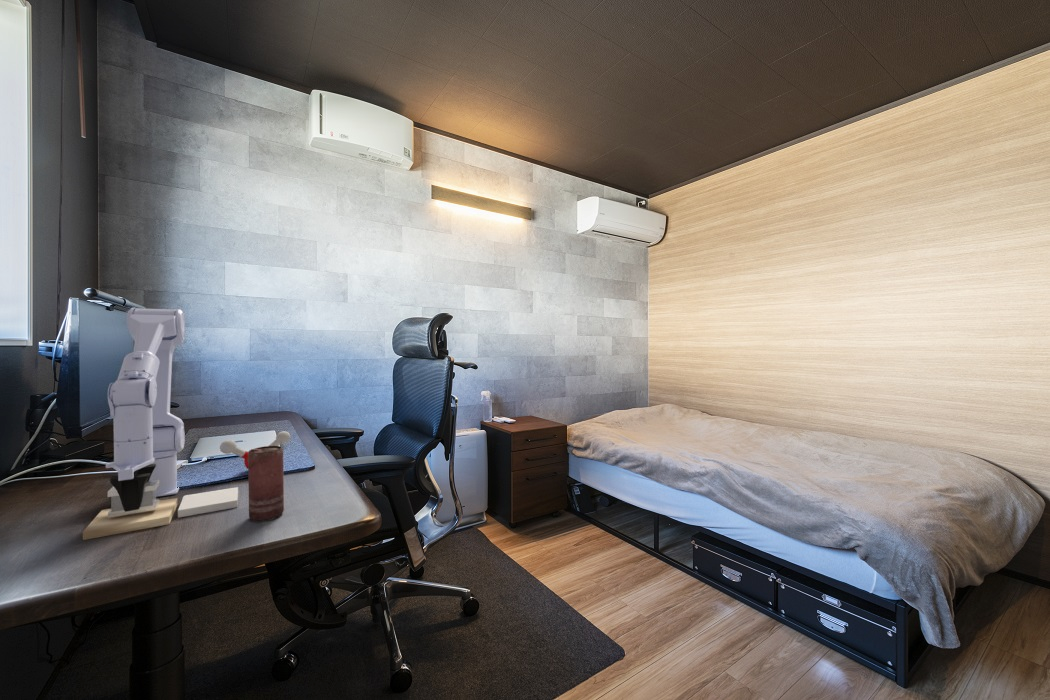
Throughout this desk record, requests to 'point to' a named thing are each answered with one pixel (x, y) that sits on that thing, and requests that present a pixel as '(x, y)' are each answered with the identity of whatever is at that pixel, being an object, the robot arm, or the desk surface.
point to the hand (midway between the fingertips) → (134, 506)
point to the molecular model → (231, 447)
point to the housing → (147, 501)
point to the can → (265, 483)
